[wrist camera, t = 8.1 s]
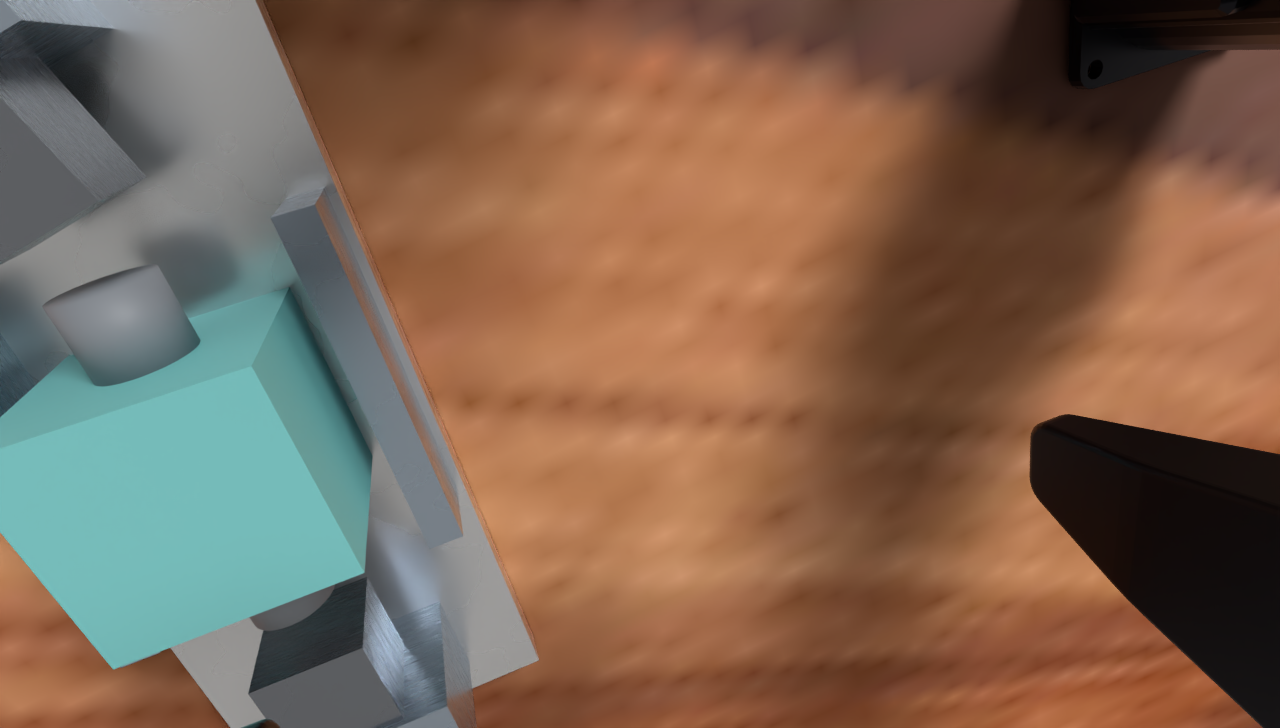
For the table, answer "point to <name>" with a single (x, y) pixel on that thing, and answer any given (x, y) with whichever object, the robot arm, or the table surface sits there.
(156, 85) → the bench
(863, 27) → the table surface
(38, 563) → the coupler
